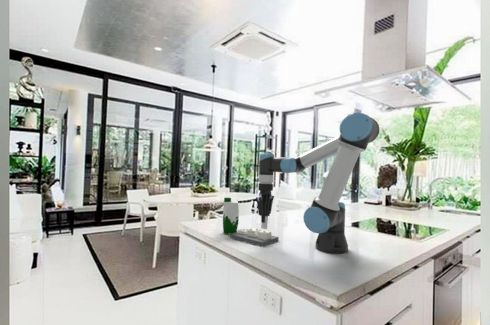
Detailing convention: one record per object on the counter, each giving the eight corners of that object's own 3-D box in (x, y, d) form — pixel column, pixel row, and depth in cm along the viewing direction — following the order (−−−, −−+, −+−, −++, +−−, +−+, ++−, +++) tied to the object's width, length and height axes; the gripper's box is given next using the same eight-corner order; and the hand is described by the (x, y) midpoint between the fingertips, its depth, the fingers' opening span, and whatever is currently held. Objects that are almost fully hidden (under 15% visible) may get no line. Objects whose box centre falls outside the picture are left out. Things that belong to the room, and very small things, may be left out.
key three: (250, 236, 151) (250, 229, 151) (244, 238, 147) (244, 231, 147) (243, 234, 154) (243, 228, 154) (237, 236, 150) (237, 229, 150)
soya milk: (223, 230, 164) (224, 196, 164) (238, 230, 164) (239, 197, 164) (221, 234, 155) (222, 198, 155) (237, 234, 155) (238, 199, 155)
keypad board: (278, 240, 144) (278, 237, 144) (262, 246, 133) (262, 242, 133) (246, 233, 158) (246, 229, 158) (229, 237, 148) (229, 234, 148)
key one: (271, 238, 142) (271, 231, 142) (265, 240, 138) (265, 233, 138) (263, 236, 145) (263, 229, 145) (257, 238, 141) (257, 231, 141)
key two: (260, 236, 146) (260, 229, 146) (254, 237, 142) (254, 230, 142) (253, 234, 149) (253, 227, 149) (247, 236, 146) (247, 229, 146)
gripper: (267, 182, 149) (265, 225, 149) (252, 182, 139) (250, 229, 139) (278, 183, 144) (277, 227, 144) (264, 184, 134) (262, 232, 134)
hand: (264, 228), depth 142 cm, fingers closed
